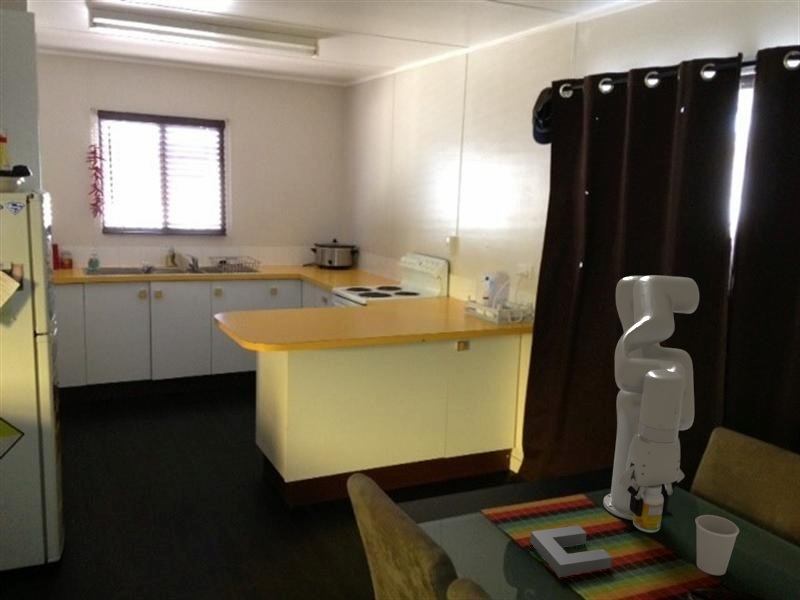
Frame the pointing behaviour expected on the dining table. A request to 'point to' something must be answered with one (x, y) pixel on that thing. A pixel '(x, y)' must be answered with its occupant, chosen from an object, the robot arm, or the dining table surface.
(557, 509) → the dining table surface
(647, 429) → the robot arm
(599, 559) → the side entry holder
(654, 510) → the supplement bottle
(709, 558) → the dixie cup
